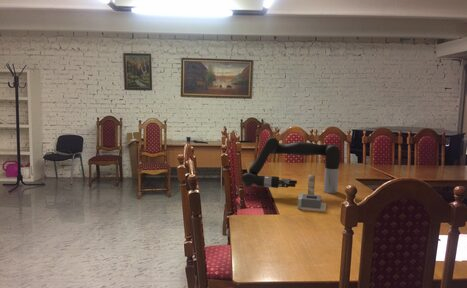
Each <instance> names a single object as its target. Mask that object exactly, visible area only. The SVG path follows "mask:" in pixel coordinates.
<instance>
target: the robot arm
mask: <svg viewBox="0 0 467 288" xmlns="http://www.w3.org/2000/svg"><path fill="white" fill-rule="evenodd" d="M270 154H271V155H278V154H279V155H282V154H283V155H284V154H285V155H294V156H305V157H307V156H324V157H325V164H324V178H323V181H324V182H323V192H324V193H326V194H334V195H335V194H337V193H338V188H339V170H340V167H339V166H340V163H341V150H340V147H338V145H335V144H318V143H317V144H316V143H311V142H302V141H296V142H291V143H285V144H283V143H281V144H280V143H279V140H278V139H277V138H275V137H271V136H270V137H269V138H267V139H266V141H265V143H264V145H263V147H262V149H261V151H260V153H259V154H258V156H257V157H256V159H254V161H253V163H252V164H251V166H250V167H249V168H248V169H249V170H248V172H246V173H243V174H242V175H241V180H242V183H243V184H242V185H243V186H245V187H247V188H250V187H252V186H253V185H256V186H257V187H266V188H271V189H272V188H274V189H278V188H285V189H286V188H290V187H291V188H295V187H296V185H297V184H298V180H294V179H291V178H281V179H280V177H279V176H275V175H273V176H272V175H259V174H260V172H261V170H262V169H263V167H265V164H266V162H267V160H268V158H269V157H270Z"/></svg>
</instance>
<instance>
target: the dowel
mask: <svg viewBox="0 0 467 288" xmlns="http://www.w3.org/2000/svg"><path fill="white" fill-rule="evenodd" d="M315 181H316V174H308V183H307V184H308V185H307V194H309V195H315V187H316V186H315V184H316V182H315Z"/></svg>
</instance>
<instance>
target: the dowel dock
mask: <svg viewBox="0 0 467 288" xmlns="http://www.w3.org/2000/svg"><path fill="white" fill-rule="evenodd" d="M326 208H327V202H326V203H325V202H322V195H318V194H314V195H309V194H308V193H303V192H300V193H299V195H298V197H297V210H304V211H315V212H325V213H326V212H327V211H326V210H327V209H326Z"/></svg>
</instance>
